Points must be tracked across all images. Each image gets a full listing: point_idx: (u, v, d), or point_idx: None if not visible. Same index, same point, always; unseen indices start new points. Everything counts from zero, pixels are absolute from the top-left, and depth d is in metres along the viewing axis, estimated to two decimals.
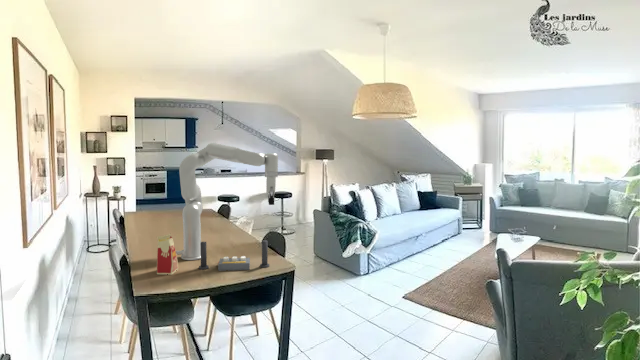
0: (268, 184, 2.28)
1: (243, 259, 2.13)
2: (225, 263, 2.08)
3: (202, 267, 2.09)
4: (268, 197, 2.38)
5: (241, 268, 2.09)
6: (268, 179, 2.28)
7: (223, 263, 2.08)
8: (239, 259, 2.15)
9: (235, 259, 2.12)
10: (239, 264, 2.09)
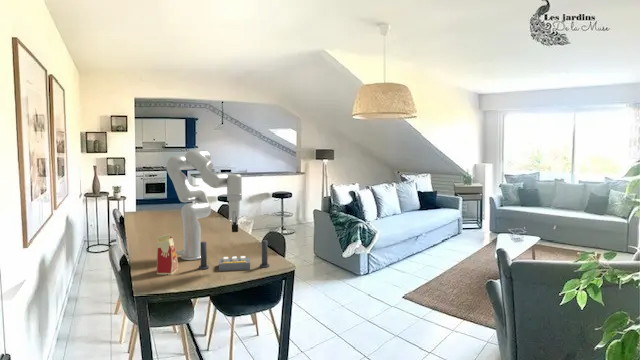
0: (230, 209, 2.05)
1: (243, 259, 2.13)
2: (226, 263, 2.08)
3: (202, 267, 2.09)
4: (232, 226, 2.11)
5: (242, 268, 2.09)
6: (230, 203, 2.05)
7: (224, 263, 2.08)
8: (239, 259, 2.16)
9: (235, 259, 2.12)
10: (240, 264, 2.09)
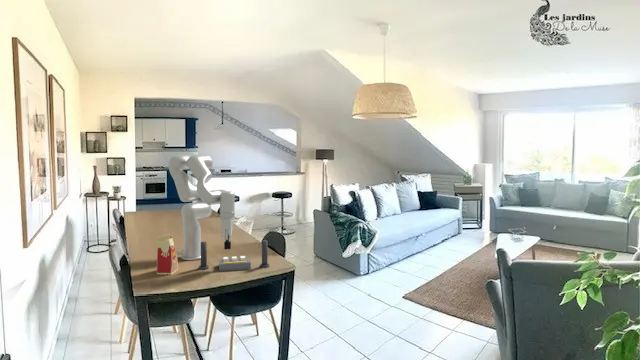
0: (223, 226, 2.06)
1: (243, 259, 2.13)
2: (226, 263, 2.08)
3: (202, 267, 2.09)
4: None
5: (242, 268, 2.10)
6: (223, 221, 2.06)
7: (224, 263, 2.07)
8: (238, 259, 2.16)
9: (235, 259, 2.12)
10: (240, 264, 2.09)
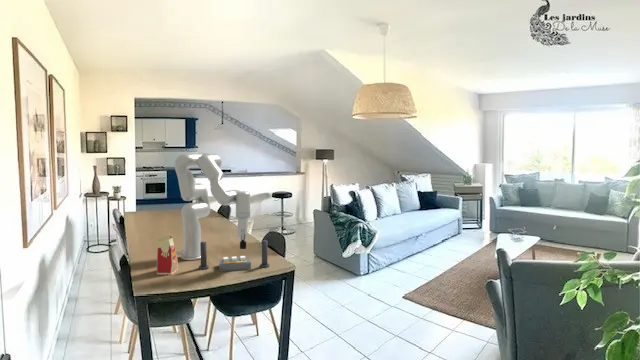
0: (239, 226, 2.07)
1: (243, 259, 2.13)
2: (226, 263, 2.07)
3: (202, 267, 2.09)
4: (240, 243, 2.13)
5: (242, 268, 2.10)
6: (239, 221, 2.07)
7: (224, 263, 2.07)
8: (238, 259, 2.16)
9: (235, 259, 2.12)
10: (240, 264, 2.09)
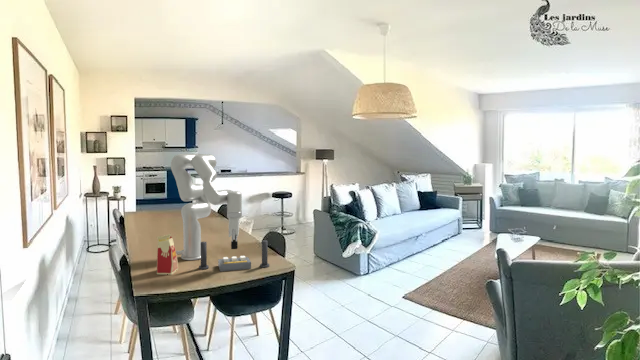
0: (230, 226, 2.06)
1: (243, 258, 2.14)
2: (227, 263, 2.07)
3: (202, 267, 2.09)
4: None
5: (243, 267, 2.10)
6: (230, 221, 2.06)
7: (225, 263, 2.07)
8: (238, 259, 2.16)
9: (235, 259, 2.12)
10: (241, 264, 2.09)
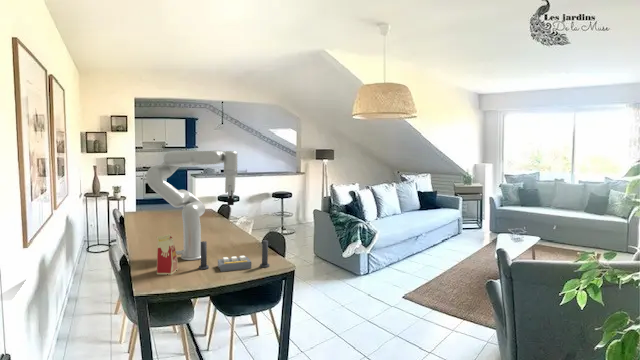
0: (226, 183, 2.20)
1: (243, 258, 2.14)
2: (227, 263, 2.07)
3: (202, 267, 2.09)
4: (228, 199, 2.26)
5: (243, 267, 2.10)
6: (226, 178, 2.21)
7: (225, 263, 2.07)
8: (238, 259, 2.16)
9: (235, 259, 2.12)
10: (241, 263, 2.10)
